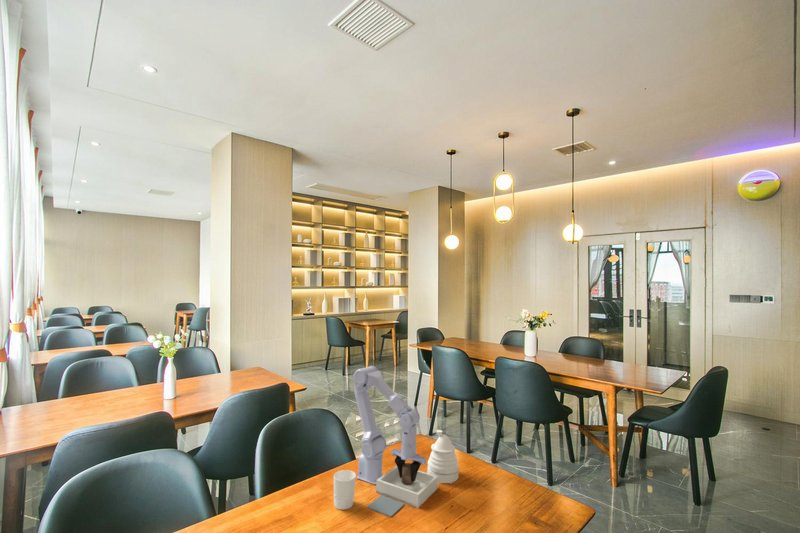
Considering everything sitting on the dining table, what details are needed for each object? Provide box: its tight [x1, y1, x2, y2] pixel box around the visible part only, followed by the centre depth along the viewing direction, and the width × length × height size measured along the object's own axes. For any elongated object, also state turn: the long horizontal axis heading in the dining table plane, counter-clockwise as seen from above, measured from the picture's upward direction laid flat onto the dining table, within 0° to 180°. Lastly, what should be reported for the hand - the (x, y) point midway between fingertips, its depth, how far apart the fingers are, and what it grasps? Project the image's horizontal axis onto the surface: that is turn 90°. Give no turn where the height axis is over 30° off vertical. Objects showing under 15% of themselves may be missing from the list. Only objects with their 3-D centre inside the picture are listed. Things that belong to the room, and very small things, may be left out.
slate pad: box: [366, 494, 406, 518], centre depth 133 cm, size 10×9×1 cm
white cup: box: [333, 469, 357, 510], centre depth 133 cm, size 8×8×10 cm
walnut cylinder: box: [402, 462, 413, 485], centre depth 144 cm, size 4×4×6 cm
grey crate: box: [375, 465, 439, 509], centre depth 144 cm, size 18×16×4 cm
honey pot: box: [426, 429, 460, 484], centre depth 157 cm, size 13×13×18 cm
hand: (407, 478), depth 144 cm, fingers closed on walnut cylinder, 4 cm apart
